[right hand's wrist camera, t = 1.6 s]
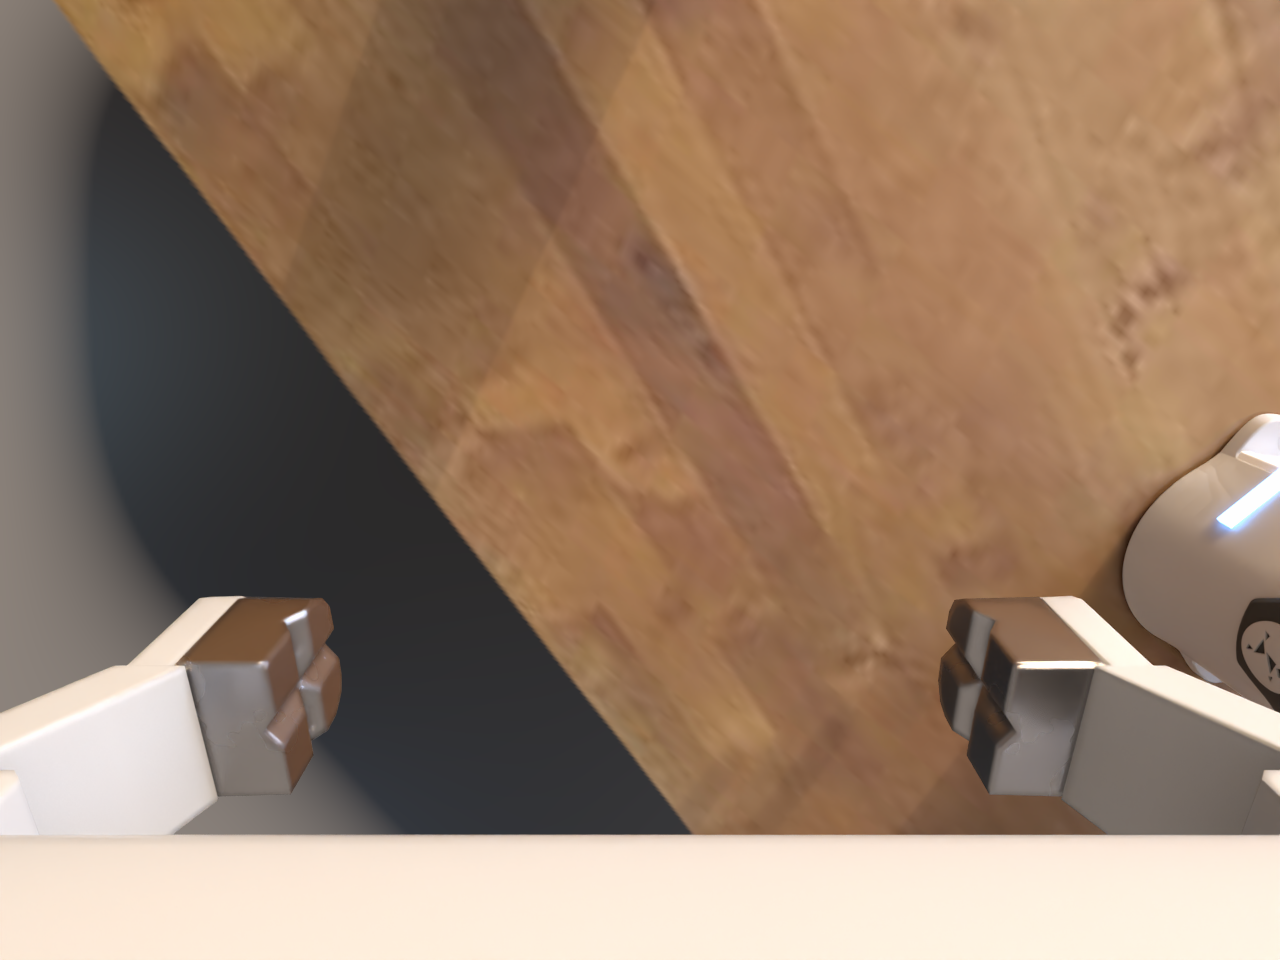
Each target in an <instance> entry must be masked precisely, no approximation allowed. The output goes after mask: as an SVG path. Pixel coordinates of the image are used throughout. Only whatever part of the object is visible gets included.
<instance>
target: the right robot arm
mask: <svg viewBox="0 0 1280 960" xmlns="http://www.w3.org/2000/svg"><path fill="white" fill-rule="evenodd" d="M1122 579H1123V589H1124V594H1125V598H1126V601H1127V603H1128V606H1129V608H1130V610H1131V612H1132V613H1133V615H1134V616H1135V618H1136V619H1137V620H1138V622H1139V623H1140V624H1141V625H1142V626H1143V627H1144V628H1145V629H1146V630H1148V631H1149V632H1150V633H1152V634H1153V635H1155V636H1156V637H1158V638H1160V639H1162V640H1163V641H1165V642H1167V643H1169V644H1170V645H1172V646H1173V647H1175V648H1177V649H1178V650H1179V651H1180V653H1181V655H1182V656H1183V658H1184V660H1185V661H1186V663H1187V664H1188V666H1189V667H1190V668H1191V670H1192V671H1193V672H1195V673H1196V674H1197V675H1199V676H1200V677H1202V678H1203V679H1204V680H1206V681H1208V682H1211V683H1219V682H1224V683H1225V684H1226V685H1228V686H1229V687H1231V688H1232V689H1233V690H1235V691H1236V692H1238V693H1239V694H1241V695H1242V696H1243V697H1245V698H1246V699H1245V698H1242V697H1240V696H1237V695H1235V694H1233V693H1230V692H1228V691H1225V690H1223V689H1221V688H1218V687H1216V686H1213V685H1211V684H1209V683H1206V682H1204V681H1201V680H1199V679H1197V678H1194V677H1192V676H1189V675H1187V674H1185V673H1182V672H1180V671H1177V670H1175V669H1173V668H1170V667H1168V666H1153V665H1152V664H1151V663H1150V662H1149V661H1148V660H1146V659H1145V658H1144V657H1143V656H1142V655H1141V654H1140V653H1139V652H1138V651H1137V650H1136V649H1135V648H1134V647H1133V646H1131V645H1130V644H1129V643H1128V642H1127V641H1126V640H1125V639H1124V638H1123V637H1122V636H1121V635H1120V634H1119V633H1118V632H1116V631H1115V630H1114V629H1113V628H1112V627H1111V626H1110V625H1109V624H1108V623H1107V622H1106V621H1105V620H1104V619H1103V618H1101V617H1100V616H1099V615H1098V614H1097V613H1096V612H1095V611H1094V610H1093V609H1092V608H1091V607H1090V606H1089V605H1087V604H1086V603H1085V602H1084V601H1083V600H1082V599H1079V598H1076V597H1073V596H1058V597H1017V598H976V599H959V600H954V602H953V604H952V607H951V609H950V611H949V615H948V621H947V626H946V629H947V631H948V632H949V634H950V635H951V637H952V638H953V640H954V641H955V644H954V645H953V646H952V647H951V648H950V649H949V650H948V651H947V653H946V654H945V655H944V656H943V657H942V658H941V663H940V671H939V679H938V682H939V693H940V702H941V705H942V708H943V712H944V715H945V717H946V719H947V721H948V723H949V725H950V727H951V728H952V730H953V731H954V732H956V733H958V734H959V735H961V736H962V737H964V738H965V739H967V740H969V745H968V750H967V757H968V758H969V760H970V762H971V763H972V765H973V767H974V769H975V770H976V772H977V774H978V775H979V777H980V779H981V781H982V782H983V784H984V786H985V787H986V789H987V791H988V793H989V794H994V795H1031V796H1062V799H1061V800H1063V801H1064V802H1065V803H1067V804H1068V805H1069V806H1071V807H1072V808H1073V809H1075V810H1076V811H1077V812H1079V813H1080V814H1081V815H1083V816H1084V817H1085V818H1087V819H1088V820H1089V821H1090V822H1092V823H1093V824H1094V825H1096V826H1097V827H1098V828H1100V829H1101V830H1102V831H1104V832H1105V833H1106V834H1108V835H173V834H174V833H175V832H177V831H178V830H179V829H181V828H182V827H183V826H184V825H186V824H187V823H188V822H190V821H191V820H192V819H194V818H195V817H196V816H198V815H199V814H200V813H202V812H203V811H204V810H206V809H207V808H208V807H210V806H211V805H212V804H214V803H215V802H216V801H217V800H218V796H248V795H284V794H291V793H292V791H293V789H294V788H295V786H296V784H297V782H298V781H299V779H300V777H301V775H302V774H303V772H304V770H305V769H306V767H307V765H308V763H309V762H310V760H311V758H312V756H313V751H312V745H311V740H313V739H314V738H316V737H318V736H319V735H321V734H322V733H324V732H325V731H327V730H328V728H329V726H330V725H331V723H332V721H333V719H334V717H335V715H336V712H337V708H338V704H339V699H340V695H341V669H340V663H339V658H338V657H337V656H336V655H335V654H334V653H333V651H331V649H330V648H329V647H328V646H327V645H326V644H325V641H326V640H327V638H328V637H329V635H330V634H331V632H332V631H333V629H334V627H333V622H332V617H331V612H330V607H329V605H328V604H327V603H326V602H325V601H324V600H323V599H322V598H278V597H243V596H228V597H206V598H199V599H198V600H197V601H196V602H195V603H194V604H193V605H192V606H191V607H190V608H189V609H187V610H186V611H185V612H184V613H183V614H182V615H181V616H180V617H179V618H178V619H177V620H176V621H174V622H173V623H172V624H171V625H170V626H169V627H168V628H167V629H166V630H165V631H164V632H163V633H162V634H161V635H159V636H158V637H157V638H156V639H155V640H154V641H153V642H152V643H151V644H150V645H149V646H148V647H147V648H145V649H144V650H143V651H142V652H141V653H140V654H139V655H138V656H137V657H136V658H135V659H134V660H133V661H131V662H130V663H129V664H128V665H127V666H112V667H110V668H107V669H105V670H103V671H100V672H98V673H95V674H93V675H90V676H88V677H86V678H83V679H81V680H79V681H76V682H74V683H71V684H69V685H66V686H64V687H62V688H59V689H57V690H54V691H52V692H50V693H47V694H45V695H42V696H40V697H38V698H35V699H33V700H30V701H28V702H25V703H23V704H21V705H18V706H16V707H14V708H11V709H9V710H6V711H4V712H1V713H0V960H1280V415H1278V414H1262V415H1258V416H1256V417H1254V418H1253V419H1251V420H1250V421H1248V422H1247V423H1246V424H1245V425H1244V426H1243V427H1242V428H1241V429H1240V430H1239V431H1238V432H1237V433H1236V434H1235V435H1234V436H1233V438H1232V439H1231V440H1230V441H1229V442H1228V443H1227V445H1226V446H1225V447H1224V448H1223V449H1222V451H1221V452H1220V453H1218V454H1217V455H1216V456H1215V457H1213V458H1212V459H1210V460H1209V461H1207V462H1206V463H1204V464H1203V465H1201V466H1199V467H1198V468H1196V469H1194V470H1193V471H1191V472H1189V473H1188V474H1186V475H1185V476H1183V477H1182V478H1180V479H1179V480H1178V481H1177V482H1175V483H1174V484H1173V485H1172V486H1170V487H1169V488H1168V489H1167V490H1166V491H1165V492H1164V493H1163V494H1162V495H1160V496H1159V497H1158V499H1157V500H1156V501H1155V502H1154V503H1153V504H1152V505H1151V506H1150V508H1149V509H1148V510H1147V511H1146V513H1145V514H1144V516H1143V517H1142V518H1141V520H1140V522H1139V523H1138V525H1137V527H1136V529H1135V530H1134V532H1133V534H1132V537H1131V539H1130V541H1129V544H1128V547H1127V550H1126V553H1125V558H1124V563H1123V574H1122ZM1247 699H1248V700H1247Z"/></svg>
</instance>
